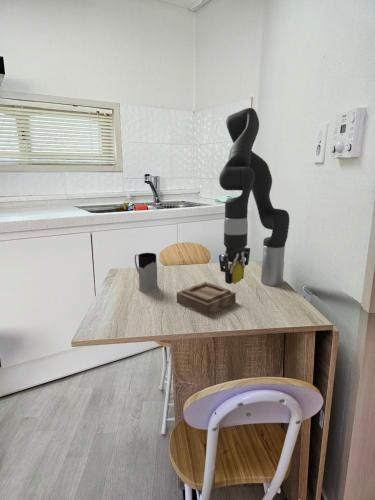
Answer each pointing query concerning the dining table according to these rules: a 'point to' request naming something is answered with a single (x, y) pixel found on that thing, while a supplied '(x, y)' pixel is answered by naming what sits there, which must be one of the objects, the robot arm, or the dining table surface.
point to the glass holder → (147, 272)
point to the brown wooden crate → (206, 298)
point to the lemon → (237, 273)
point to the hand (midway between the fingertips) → (234, 280)
